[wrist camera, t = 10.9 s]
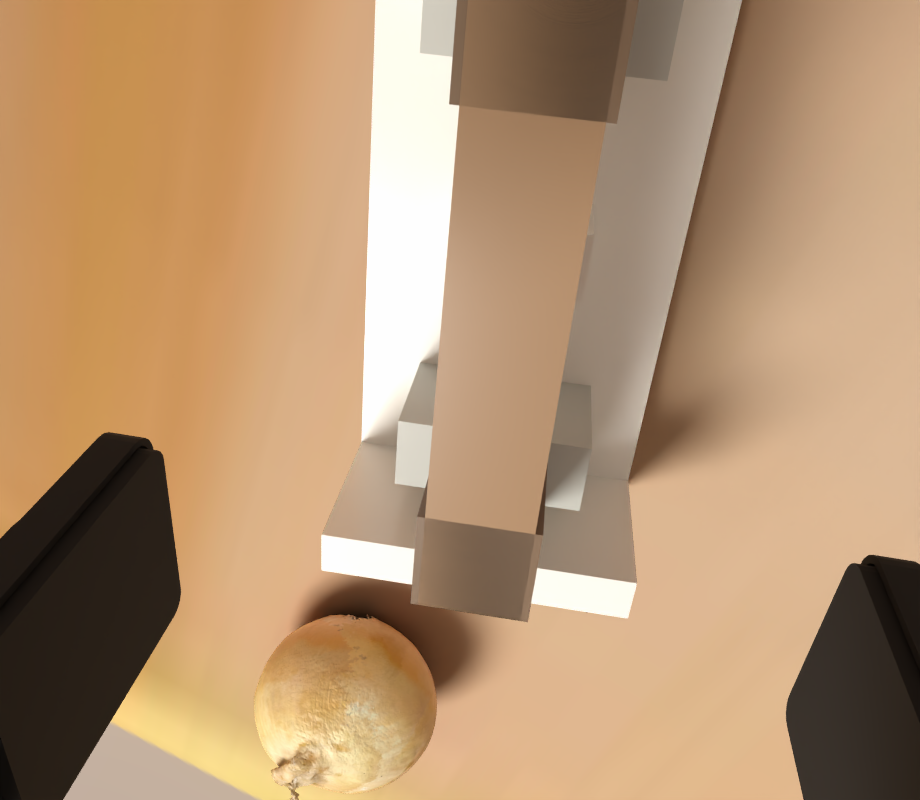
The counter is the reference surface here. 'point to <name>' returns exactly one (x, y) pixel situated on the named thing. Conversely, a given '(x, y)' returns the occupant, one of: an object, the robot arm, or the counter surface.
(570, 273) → the tan bar
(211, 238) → the counter surface
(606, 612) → the white bracket frame
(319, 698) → the onion
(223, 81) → the counter surface
